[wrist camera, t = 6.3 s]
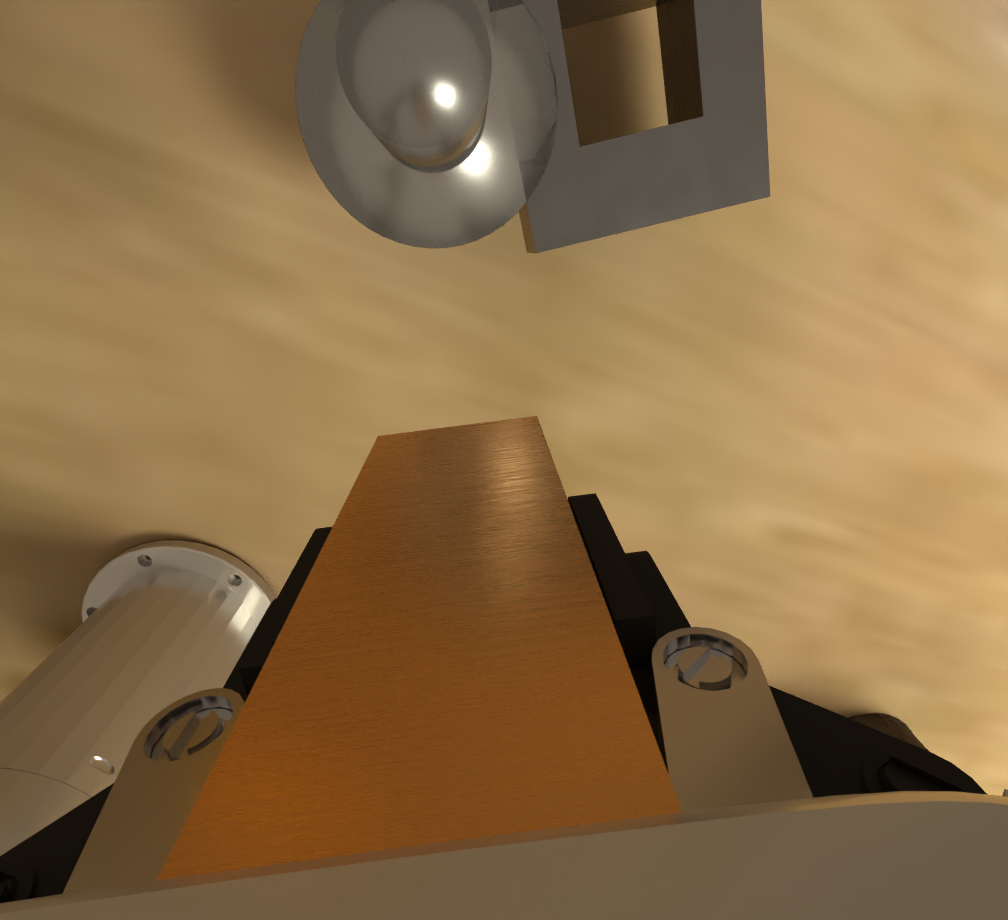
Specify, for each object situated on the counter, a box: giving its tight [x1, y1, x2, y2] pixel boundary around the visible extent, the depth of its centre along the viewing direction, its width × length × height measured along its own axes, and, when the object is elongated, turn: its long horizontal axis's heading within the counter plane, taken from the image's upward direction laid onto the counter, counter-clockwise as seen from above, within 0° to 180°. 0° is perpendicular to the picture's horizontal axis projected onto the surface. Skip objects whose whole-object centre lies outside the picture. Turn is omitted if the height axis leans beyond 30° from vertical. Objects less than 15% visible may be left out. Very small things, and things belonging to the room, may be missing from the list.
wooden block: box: [157, 416, 682, 880], centre depth 9 cm, size 4×4×12 cm
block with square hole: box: [295, 0, 770, 253], centre depth 22 cm, size 12×18×14 cm, turn 103°
